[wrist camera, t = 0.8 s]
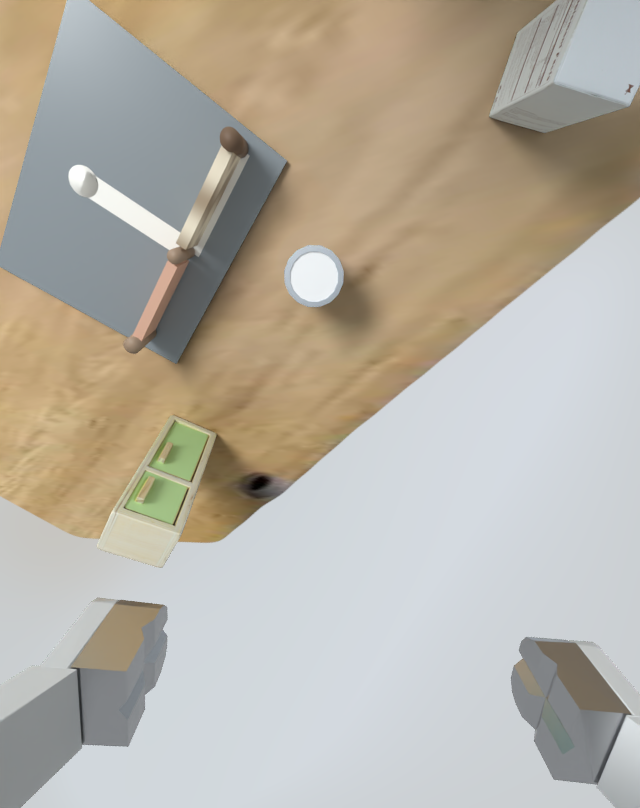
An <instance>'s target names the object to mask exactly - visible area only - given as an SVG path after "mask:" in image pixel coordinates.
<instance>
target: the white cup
mask: <svg viewBox="0 0 640 808" xmlns="http://www.w3.org/2000/svg"><path fill="white" fill-rule="evenodd" d="M284 274H285V285H286V287H287V290H288V292H289V294H290V295H291V296H292V297H293V298H294V299H295V300H296V301H297V302H298V303H300V304H303V305H305V306H307V307H320V306H323V305H325V304H328V303H330V302H331V301H332V300H333V299H334V298H335V297H336V296H337V295H338V294H339V292H340V289H341V287H342V285H343V274H344V271H343V268H342V265H341V262H340V260H339V259H338V258H337V256H336V255H335V254H334V253H333V252H332V251H331V250H329V249H327V248H325V247H323V246H320V245H308V246H306V247H303V248H301V249H299V250H297V251H296V252H295V253H294V254H293V255H292V256H291V257H290V258H289V260H288V262H287V265H286V268H285V271H284Z"/></svg>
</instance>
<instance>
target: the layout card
mask: <svg viewBox="0 0 640 808" xmlns="http://www.w3.org/2000/svg"><path fill="white" fill-rule="evenodd" d="M225 127H233V128H235V129H236V130H237V131H238V132H239V134H240V135H241V136H242V137H243V138H244V139H245V140H246V142H247V143H248V147H249V150H248V154H247V155H246V156H245V157H244V158H241V159H240V161H239V163H238V165H237V167H236V169H235V171H234V173H233V175H232V177H231V179H230V181H229V183H228V185H227V187H226V189H225V191H224V193H223V195H222V197H221V199H220V201H219V203H218V205H217V207H216V209H215V211H214V213H213V215H212V217H211V219H210V221H209V223H208V225H207V227H206V229H205V231H204V234H203V236H202V238H201V240H200V242H199V244H198V245H197V246H194V247H193V248H194V249H195V255H194V256H193V257H192V258H190V259H188V260H189V263H188V265H187V267H186V269H185V271H184V273H183V275H182V277H181V279H180V281H179V283H178V285H177V287H176V289H175V291H174V293H173V295H172V297H171V299H170V301H169V303H168V305H167V307H166V309H165V311H164V313H163V316H162V318H161V320H160V322H159V324H158V326H157V328H156V332H157V334H156V337H155V338H154V339H152V340H151V341H150V342H149V343H148V344H147V345H146V346H145V347H146V348H148V349H150V350H152V351H154V352H156V353H157V354H159V355H161V356H163V357H165V358H166V359H168V360H170V361H172V362H174V363H176V364H177V362H178V360H179V358H180V357H181V355H182V353H183V351H184V349H185V347H186V346H187V344H188V342H189V340H190V338H191V337H192V335H193V333H194V331H195V329H196V327H197V326H198V324H199V322H200V320H201V318H202V316H203V315H204V313H205V311H206V309H207V307H208V305H209V304H210V302H211V300H212V298H213V296H214V294H215V293H216V291H217V289H218V287H219V285H220V283H221V282H222V280H223V278H224V276H225V274H226V272H227V271H228V269H229V267H230V265H231V263H232V261H233V260H234V258H235V256H236V254H237V252H238V250H239V249H240V247H241V245H242V243H243V241H244V239H245V238H246V236H247V234H248V232H249V230H250V228H251V227H252V225H253V223H254V221H255V219H256V217H257V216H258V214H259V212H260V210H261V208H262V206H263V205H264V203H265V201H266V199H267V197H268V195H269V194H270V192H271V190H272V188H273V186H274V184H275V183H276V181H277V179H278V177H279V175H280V173H281V172H282V170H283V168H284V166H285V164H286V162H287V160H285V159H284V158H283V157H282V156H280V155H279V154H278V153H277V152H276V151H274V150H273V149H272V148H271V147H269V146H268V145H267V144H266V143H264V142H263V141H262V140H261V139H259V138H258V137H257V136H256V135H255V134H253V133H252V132H251V131H250V130H248V129H247V128H246V127H245V126H243V125H242V124H241V123H240V122H238V121H237V120H236V119H235V118H233V117H232V116H231V115H230V114H229V113H227V112H226V111H225V110H224V109H222V108H221V107H220V106H219V105H217V104H216V103H215V102H214V101H212V100H211V99H210V98H209V97H208V96H206V95H205V94H204V93H203V92H201V91H200V90H199V89H198V88H196V87H195V86H194V85H193V84H191V83H190V82H189V81H188V80H187V79H185V78H184V77H183V76H182V75H180V74H179V73H178V72H177V71H175V70H174V69H173V68H172V67H170V66H169V65H168V64H167V63H165V62H164V61H163V60H162V59H161V58H159V57H158V56H157V55H156V54H154V53H153V52H152V51H151V50H149V49H148V48H147V47H146V46H144V45H143V44H142V43H141V42H140V41H138V40H137V39H136V38H135V37H133V36H132V35H131V34H130V33H128V32H127V31H126V30H125V29H123V28H122V27H121V26H120V25H119V24H117V23H116V22H115V21H114V20H112V19H111V18H110V17H109V16H107V15H106V14H105V13H104V12H102V11H101V10H100V9H99V8H98V7H96V6H95V5H94V4H93V3H91V2H90V1H89V0H67V2H66V6H65V10H64V14H63V17H62V21H61V25H60V28H59V32H58V36H57V40H56V43H55V47H54V51H53V54H52V58H51V62H50V66H49V69H48V73H47V77H46V80H45V84H44V88H43V91H42V95H41V99H40V103H39V106H38V110H37V114H36V117H35V121H34V125H33V129H32V132H31V136H30V140H29V143H28V147H27V151H26V155H25V158H24V162H23V166H22V169H21V173H20V177H19V181H18V184H17V188H16V192H15V195H14V199H13V203H12V207H11V210H10V214H9V218H8V221H7V225H6V229H5V233H4V236H3V240H2V244H1V247H0V267H1V268H3V269H5V270H7V271H8V272H10V273H12V274H14V275H16V276H18V277H19V278H21V279H23V280H25V281H27V282H28V283H30V284H32V285H34V286H36V287H38V288H39V289H41V290H43V291H45V292H47V293H48V294H50V295H52V296H54V297H56V298H58V299H59V300H61V301H63V302H65V303H67V304H68V305H70V306H72V307H74V308H76V309H77V310H79V311H81V312H83V313H85V314H87V315H88V316H90V317H92V318H94V319H96V320H97V321H99V322H101V323H103V324H105V325H107V326H108V327H110V328H112V329H114V330H116V331H117V332H119V333H121V334H123V335H125V336H127V337H130V336H131V335H132V334H133V333H134V331H135V329H136V327H137V325H138V322H139V320H140V318H141V316H142V314H143V312H144V310H145V307H146V305H147V303H148V301H149V299H150V297H151V295H152V293H153V290H154V288H155V286H156V284H157V282H158V280H159V278H160V275H161V273H162V271H163V269H164V267H165V265H166V263H167V261H168V259H167V252H168V251H169V250H171V249H173V248H176V247H179V245H178V244H176V241H177V239H178V237H179V235H180V233H181V231H182V229H183V226H184V224H185V222H186V220H187V218H188V216H189V214H190V212H191V209H192V207H193V205H194V203H195V201H196V199H197V197H198V194H199V192H200V190H201V188H202V186H203V184H204V182H205V180H206V177H207V175H208V173H209V171H210V169H211V167H212V165H213V163H214V160H215V158H216V156H217V154H218V152H219V150H220V148H221V143H220V133H221V131H222V129H223V128H225Z"/></svg>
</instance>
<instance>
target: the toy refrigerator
mask: <svg viewBox="0 0 640 808" xmlns="http://www.w3.org/2000/svg"><path fill="white" fill-rule="evenodd" d="M216 436H217V434H216V433H214V432H212V431H209V430H207V429H205V428H202V427H200V426H198V425H195V424H193V423H191V422H188V421H186V420H184V419H181V418H179V417H177V416H175V415H171V416H170V417H169V419H168V420H167V422H166V424H165V425H164V427H163V429H162V430H161V432H160V434H159V435H158V437H157V438H156V440H155V442H154V443H153V445H152V447H151V448H150V450H149V452H148V453H147V455H146V457H145V458H144V460H143V462H142V463H141V465H140V466H139V468H138V470H137V471H136V473H135V475H134V476H133V478H132V479H131V481H130V483H129V484H128V486H127V488H126V489H125V491H124V493H123V494H122V496H121V497H120V499H119V501H118V502H117V504H116V506H115V507H114V509H113V511H112V513H111V515H110V517H109V519H108V521H107V524H106V526H105V528H104V530H103V533H102V535H101V537H100V540H99V542H98V544H97V548H98V549H100V550H103V551H105V552H109V553H112V554H115V555H119V556H122V557H125V558H129V559H132V560H135V561H138V562H142V563H145V564H148V565H152V566H155V567H159V568H161V567H163V566H164V564H165V562H166V561H167V559H168V557H169V555H170V554H171V552H172V550H173V548H174V547H175V545H176V544H177V542H178V540H179V538H180V536H181V534H182V532H183V529H184V526H185V524H186V521H187V518H188V515H189V513H190V510H191V507H192V504H193V501H194V498H195V496H196V493H197V490H198V487H199V484H200V481H201V479H202V476H203V473H204V470H205V468H206V465H207V462H208V459H209V456H210V453H211V451H212V448H213V445H214V442H215V439H216Z"/></svg>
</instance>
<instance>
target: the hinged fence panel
mask: <svg viewBox="0 0 640 808" xmlns="http://www.w3.org/2000/svg"><path fill="white" fill-rule="evenodd" d="M194 255H195V249H194V248H193V247H192V248H189V249H187V250H185V249H184V248H182V247H181V246H179V247H176V248H173V249H171V250H169V251H168V252H167V259H168V261H167V263H166V265H165V267H164V269H163V271H162V273H161V275H160V278H159V280H158V282H157V284H156V286H155V288H154V290H153V293H152V295H151V297H150V299H149V301H148V303H147V305H146V307H145V310H144V312H143V314H142V316H141V318H140V320H139V322H138V325H137V327H136V329H135V331H134V333H133V334H132V335H131V336H130V337H128V338H127V339H126V340H125V341H124V343H123V345H124V348H125V349H126V351H128V352H129V353H133V354H135V353H138V352H139V351H140V350H141V349H142V348H143V347H145V346H146V345H147V344H148V343H149V342H150V341H151V340H152V339H154V338H155V337H156V334H157V332H156V328H157V326H158V324H159V322H160V320H161V318H162V316H163V313H164V311H165V309H166V307H167V305H168V303H169V301H170V299H171V297H172V295H173V293H174V291H175V289H176V287H177V285H178V283H179V281H180V279H181V277H182V275H183V273H184V271H185V269H186V267H187V265H188V263H189V260H188V259H190V258H192V257H193V256H194Z"/></svg>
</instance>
